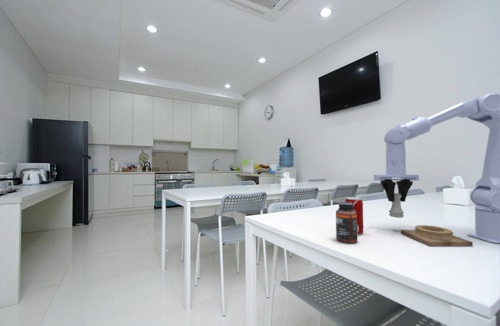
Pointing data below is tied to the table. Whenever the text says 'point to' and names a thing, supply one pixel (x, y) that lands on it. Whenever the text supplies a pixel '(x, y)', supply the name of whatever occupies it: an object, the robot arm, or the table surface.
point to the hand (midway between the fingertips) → (396, 201)
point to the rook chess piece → (396, 207)
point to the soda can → (359, 210)
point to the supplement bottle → (346, 223)
